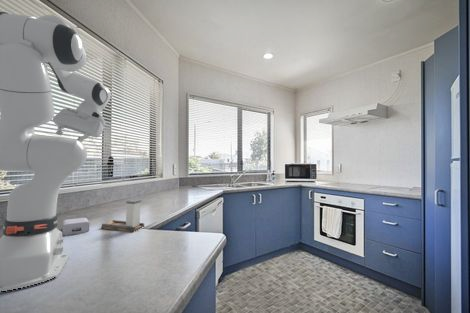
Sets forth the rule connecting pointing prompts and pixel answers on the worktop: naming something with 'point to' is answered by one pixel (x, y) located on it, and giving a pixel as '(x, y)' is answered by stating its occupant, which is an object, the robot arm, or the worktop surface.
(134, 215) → the white upright block
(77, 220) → the charger
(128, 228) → the track
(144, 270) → the worktop surface
